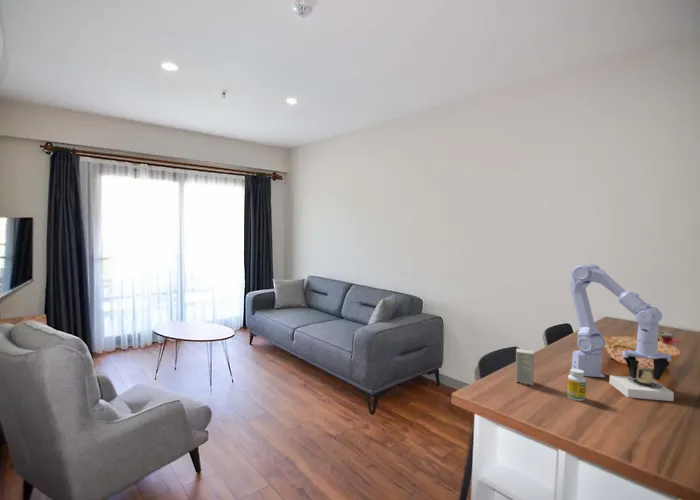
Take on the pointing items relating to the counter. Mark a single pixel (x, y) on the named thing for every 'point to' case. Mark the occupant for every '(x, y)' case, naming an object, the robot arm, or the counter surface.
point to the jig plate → (640, 389)
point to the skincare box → (525, 366)
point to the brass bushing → (645, 376)
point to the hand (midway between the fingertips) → (644, 377)
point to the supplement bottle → (576, 385)
